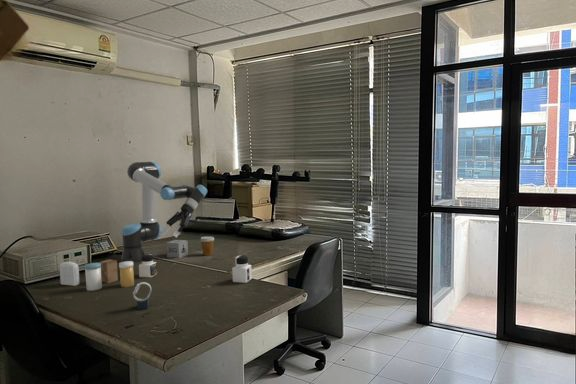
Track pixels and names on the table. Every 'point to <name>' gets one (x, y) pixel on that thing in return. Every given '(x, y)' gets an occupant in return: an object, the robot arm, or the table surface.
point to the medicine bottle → (147, 266)
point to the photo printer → (69, 273)
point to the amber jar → (126, 273)
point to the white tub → (93, 276)
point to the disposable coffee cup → (207, 245)
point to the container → (242, 270)
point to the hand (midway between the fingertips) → (168, 235)
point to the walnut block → (109, 271)
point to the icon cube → (177, 248)
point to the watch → (142, 302)
